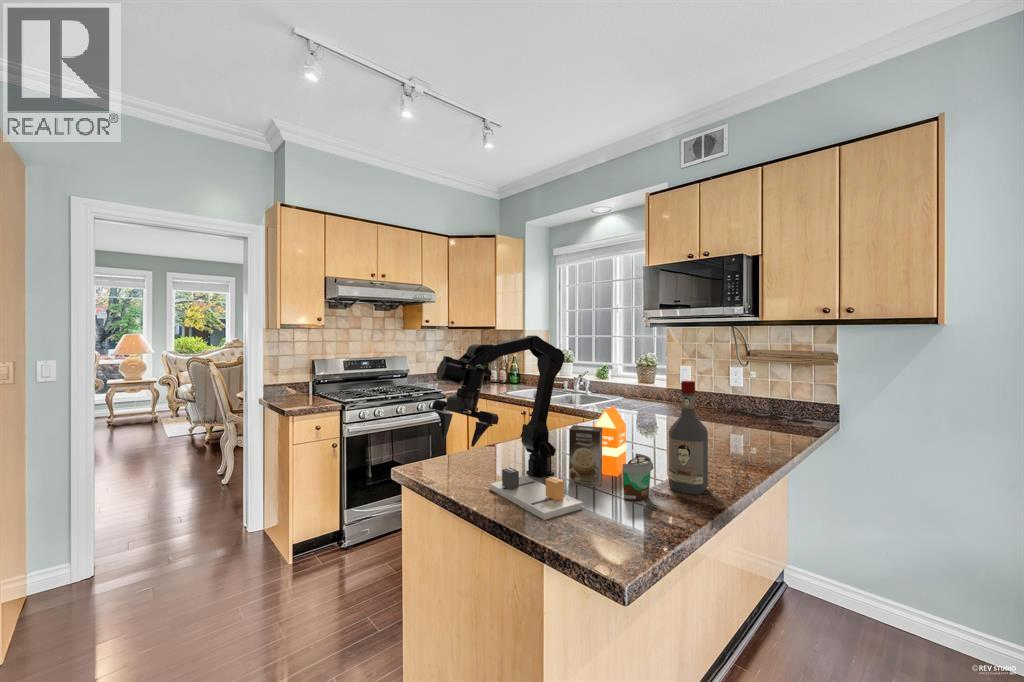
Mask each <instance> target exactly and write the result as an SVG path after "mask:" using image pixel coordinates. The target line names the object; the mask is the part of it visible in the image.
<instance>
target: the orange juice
mask: <svg viewBox="0 0 1024 682" xmlns="http://www.w3.org/2000/svg"><path fill="white" fill-rule="evenodd" d="M592 427H602V475H604V476H612V477H618V476H619V475H621V474H623V472H622V466H623V464H627V423H626V422H625V421H624V419H623V418H622V416H621V415H620V412H618V410H617V408H616V407H615V406H611V407H609V408H606V409H604V411H603V412H602V414H601V415H600V416H599V418H598V419H597V420H596V422H595V423H594V424H593V426H592Z"/></svg>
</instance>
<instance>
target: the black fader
mask: <svg viewBox="0 0 1024 682" xmlns="http://www.w3.org/2000/svg"><path fill="white" fill-rule="evenodd" d="M501 477H502V478H501V481H502V486H504V487H506V488H508V489H515V488H519V477H520V474H519V471H518V470H516V469H515V468H512V467H506V468H503V469H502V470H501Z"/></svg>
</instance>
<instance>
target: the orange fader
mask: <svg viewBox="0 0 1024 682" xmlns="http://www.w3.org/2000/svg"><path fill="white" fill-rule="evenodd" d="M544 482H545V485H546V496H547V497H549V498H551V499H553V500H555V501H556V500H559V499H563V498H564V494H565V481H564V480H562V479H560V478H558V477H556V476H549V477H548V478H545V481H544Z"/></svg>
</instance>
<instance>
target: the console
mask: <svg viewBox="0 0 1024 682" xmlns="http://www.w3.org/2000/svg"><path fill="white" fill-rule="evenodd" d="M489 490H490V491H493V492H494V493H496V494H498V495H499V496H501V497H503V498H505V499H506V500H508V501H510V502H512V503H514V504H515V505H517V506H519V507H521V508H522V509H523V510H526V511H527V512H530V514H533V515H534V516H537V517H539V518H540V519H541V520H543V521H545V520H548V519H551V518H552V519H553V518H554V517H558V516H562V515H566V514H569V513H571V512H572V513H573V512H576V511H579V510H582V509H583V504H584V503H583V502H582V501H581V500H579V499H577V498H574V497H572V496H570V495H568V494H565V493H564V498H563V499H559V500H556V501H555V500H553V499H551V498H549V497H547V496H546V484H544V483H542V482H539V481H537V480H535V479H532V478H531V477H528V476H527V475H523V476H519V488H515V489H508V488H506V487H504V486H502V480H500V481H495V482H491V483H489Z"/></svg>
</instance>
